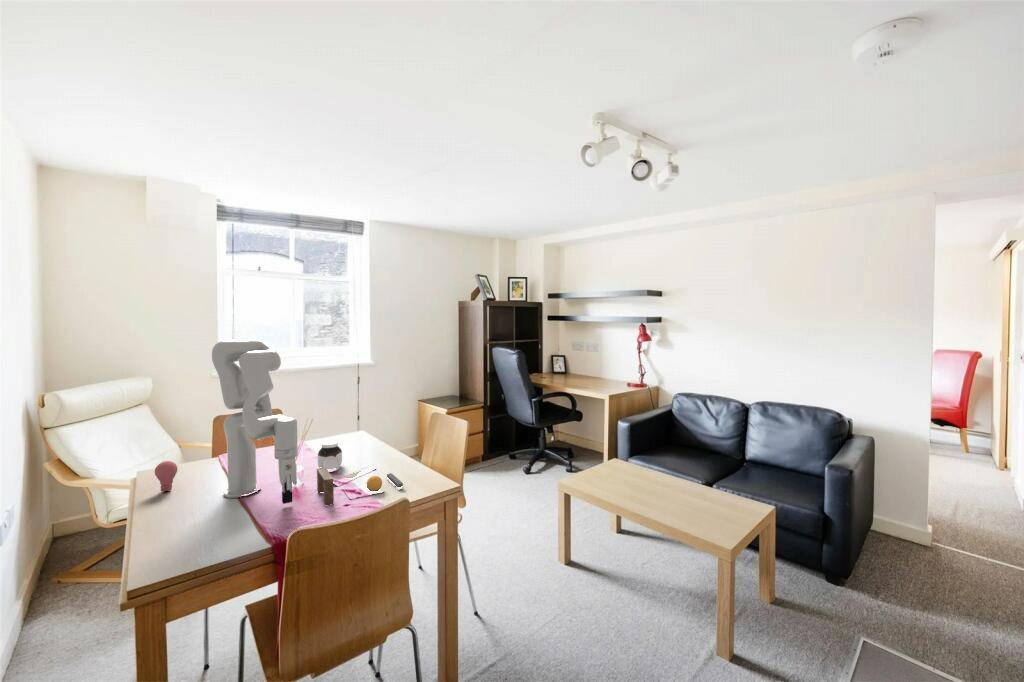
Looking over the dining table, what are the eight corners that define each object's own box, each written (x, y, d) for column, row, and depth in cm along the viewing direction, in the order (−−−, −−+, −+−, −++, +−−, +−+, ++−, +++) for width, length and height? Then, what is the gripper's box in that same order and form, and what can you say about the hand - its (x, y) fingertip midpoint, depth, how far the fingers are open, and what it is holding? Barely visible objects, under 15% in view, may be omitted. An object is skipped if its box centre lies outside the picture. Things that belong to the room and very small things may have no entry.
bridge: (325, 506, 164) (324, 480, 163) (317, 492, 176) (317, 468, 176) (333, 504, 165) (333, 478, 165) (325, 491, 178) (325, 467, 177)
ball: (379, 488, 182) (364, 489, 179) (380, 473, 183) (365, 474, 180) (383, 492, 177) (367, 493, 174) (384, 477, 177) (368, 478, 174)
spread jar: (333, 463, 212) (332, 439, 211) (350, 467, 207) (350, 442, 206) (311, 471, 201) (311, 445, 201) (329, 475, 196) (328, 449, 196)
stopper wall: (387, 479, 191) (386, 474, 191) (391, 478, 192) (391, 473, 192) (398, 490, 179) (398, 484, 179) (402, 489, 180) (402, 483, 180)
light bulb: (173, 486, 182) (172, 457, 181) (181, 490, 178) (180, 460, 178) (152, 492, 176) (151, 462, 175) (160, 496, 172) (159, 465, 172)
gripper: (300, 456, 158) (301, 507, 159) (294, 446, 171) (295, 493, 172) (276, 459, 154) (278, 512, 155) (272, 449, 167) (273, 497, 168)
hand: (287, 502), depth 164 cm, fingers closed
